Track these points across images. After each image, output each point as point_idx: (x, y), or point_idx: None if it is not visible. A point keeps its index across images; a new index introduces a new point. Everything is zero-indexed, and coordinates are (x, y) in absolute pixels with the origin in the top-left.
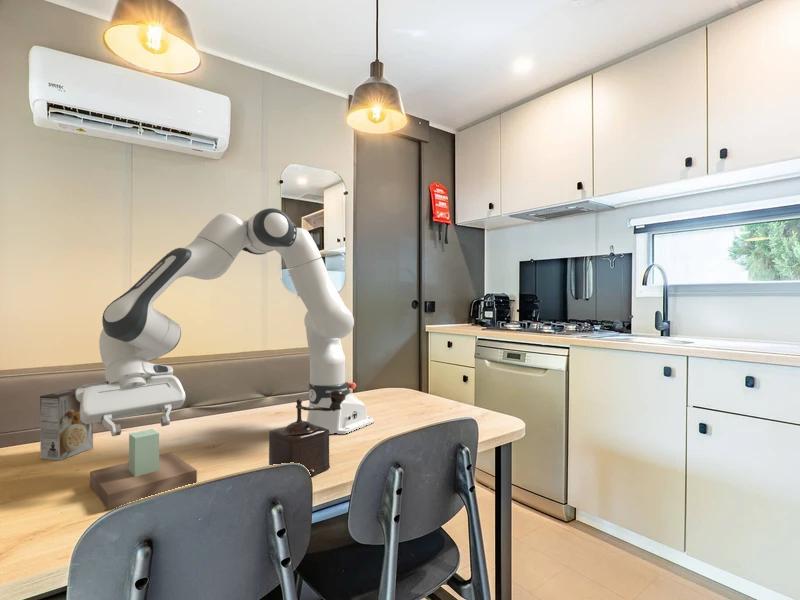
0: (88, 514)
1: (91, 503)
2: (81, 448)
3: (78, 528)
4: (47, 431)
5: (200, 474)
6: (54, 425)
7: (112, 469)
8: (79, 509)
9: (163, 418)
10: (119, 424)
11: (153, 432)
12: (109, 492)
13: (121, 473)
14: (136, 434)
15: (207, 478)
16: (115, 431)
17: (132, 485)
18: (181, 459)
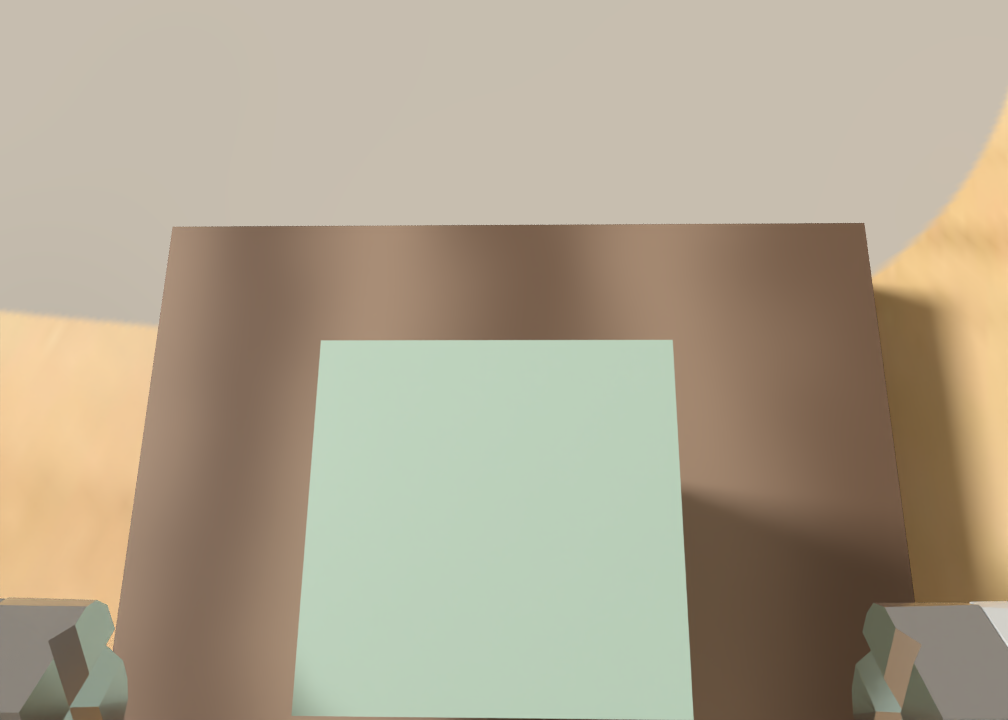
0: (939, 320)
1: (914, 508)
2: None
3: (996, 160)
4: None
5: (93, 450)
6: None
7: None
8: (993, 457)
9: (26, 656)
10: (951, 715)
11: (363, 459)
12: (851, 262)
13: (700, 674)
14: (607, 550)
15: (106, 323)
16: (984, 601)
17: (678, 279)
18: (118, 625)
